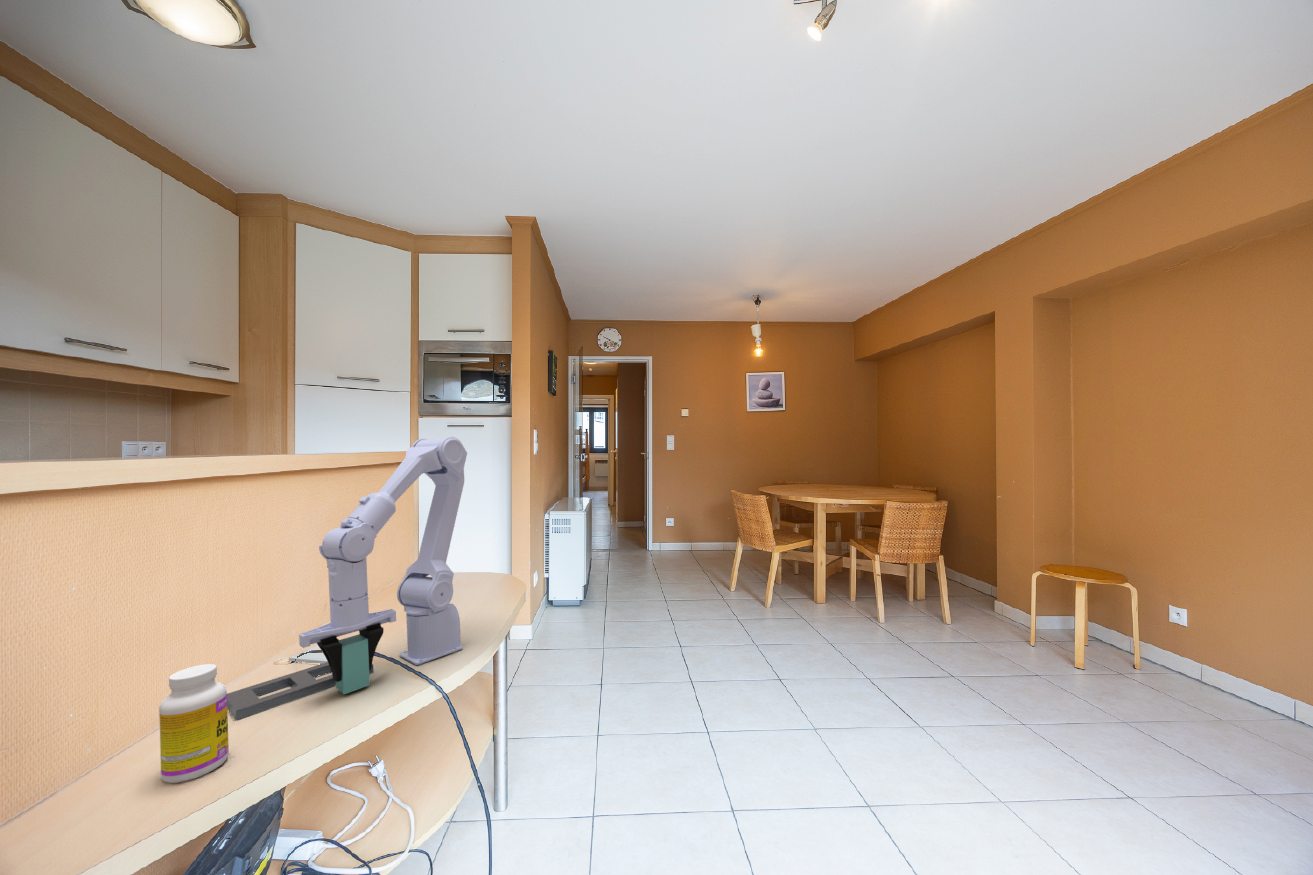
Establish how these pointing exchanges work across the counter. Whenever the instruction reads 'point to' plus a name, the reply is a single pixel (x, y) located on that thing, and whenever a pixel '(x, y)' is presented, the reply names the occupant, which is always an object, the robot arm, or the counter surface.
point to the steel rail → (301, 683)
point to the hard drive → (309, 656)
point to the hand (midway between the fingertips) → (352, 674)
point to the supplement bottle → (193, 724)
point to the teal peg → (354, 664)
